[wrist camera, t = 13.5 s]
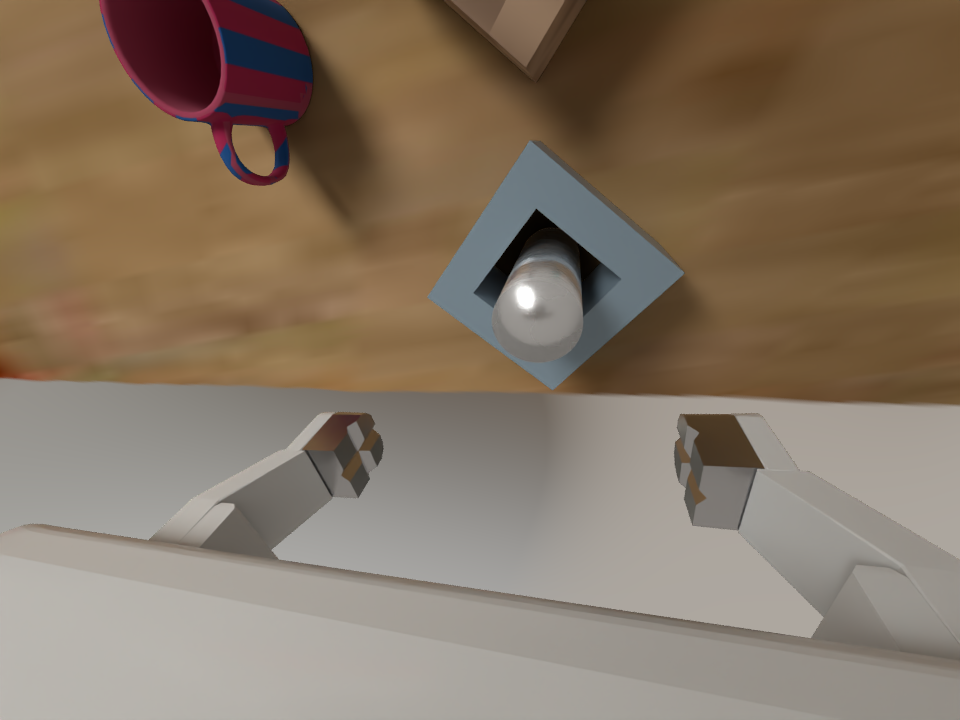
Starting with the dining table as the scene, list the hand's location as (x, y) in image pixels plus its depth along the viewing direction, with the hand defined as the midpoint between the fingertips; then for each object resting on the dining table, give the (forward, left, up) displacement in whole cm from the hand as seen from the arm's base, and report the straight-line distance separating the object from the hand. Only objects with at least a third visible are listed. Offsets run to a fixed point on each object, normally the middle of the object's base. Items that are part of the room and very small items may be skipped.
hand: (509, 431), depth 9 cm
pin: (0, 0, -18) cm, 18 cm away
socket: (0, 0, -18) cm, 18 cm away
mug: (+3, -21, -19) cm, 28 cm away
